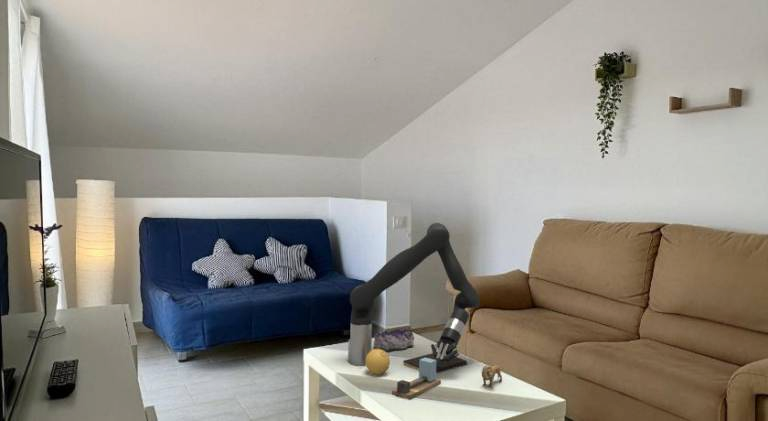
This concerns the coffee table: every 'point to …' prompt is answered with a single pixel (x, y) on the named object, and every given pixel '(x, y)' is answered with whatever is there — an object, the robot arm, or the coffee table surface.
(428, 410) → the coffee table surface
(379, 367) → the stress ball
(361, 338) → the robot arm
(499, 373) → the lion figurine
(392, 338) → the geode
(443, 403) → the coffee table surface
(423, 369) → the pale blue squarish block
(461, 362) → the hardcover book
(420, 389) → the rail
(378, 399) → the coffee table surface
